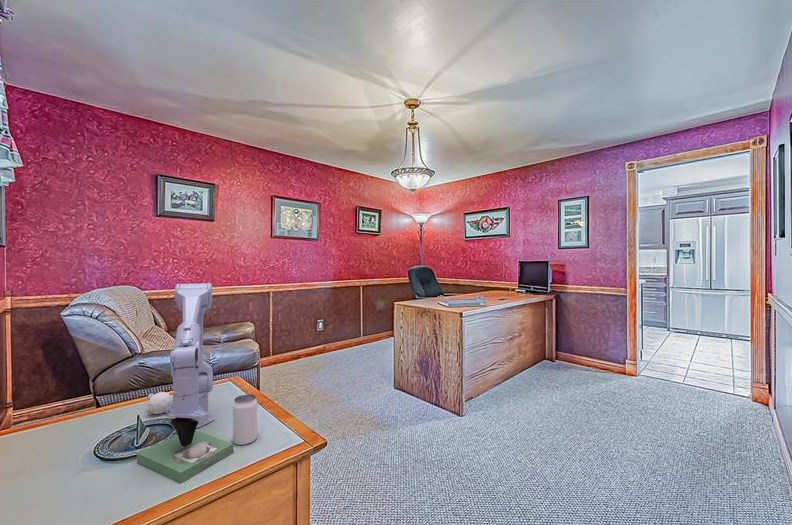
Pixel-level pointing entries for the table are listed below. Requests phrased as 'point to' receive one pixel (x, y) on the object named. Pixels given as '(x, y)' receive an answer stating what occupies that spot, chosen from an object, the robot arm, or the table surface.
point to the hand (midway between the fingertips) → (186, 444)
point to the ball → (197, 450)
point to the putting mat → (184, 456)
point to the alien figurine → (159, 402)
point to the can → (245, 419)
